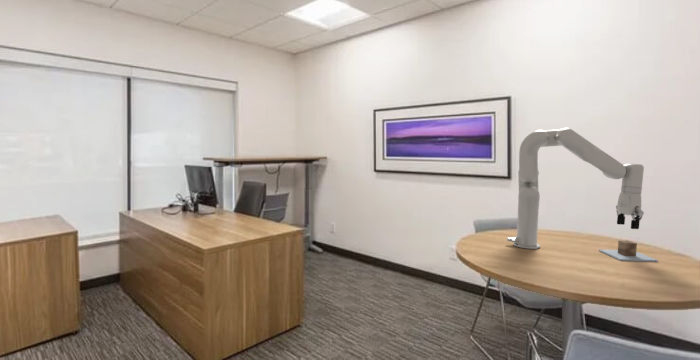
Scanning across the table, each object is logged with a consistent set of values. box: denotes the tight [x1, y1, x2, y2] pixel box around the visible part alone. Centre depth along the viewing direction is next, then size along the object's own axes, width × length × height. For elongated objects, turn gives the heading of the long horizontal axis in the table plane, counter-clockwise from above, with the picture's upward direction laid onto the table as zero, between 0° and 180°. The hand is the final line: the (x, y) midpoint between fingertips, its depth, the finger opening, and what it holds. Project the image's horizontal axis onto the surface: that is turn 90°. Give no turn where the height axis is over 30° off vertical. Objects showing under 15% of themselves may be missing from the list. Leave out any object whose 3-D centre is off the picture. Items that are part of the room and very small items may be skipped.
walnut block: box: [617, 240, 638, 256], centre depth 173 cm, size 5×5×6 cm
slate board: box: [598, 248, 658, 263], centre depth 173 cm, size 16×16×1 cm
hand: (627, 226), depth 172 cm, fingers open, 9 cm apart
